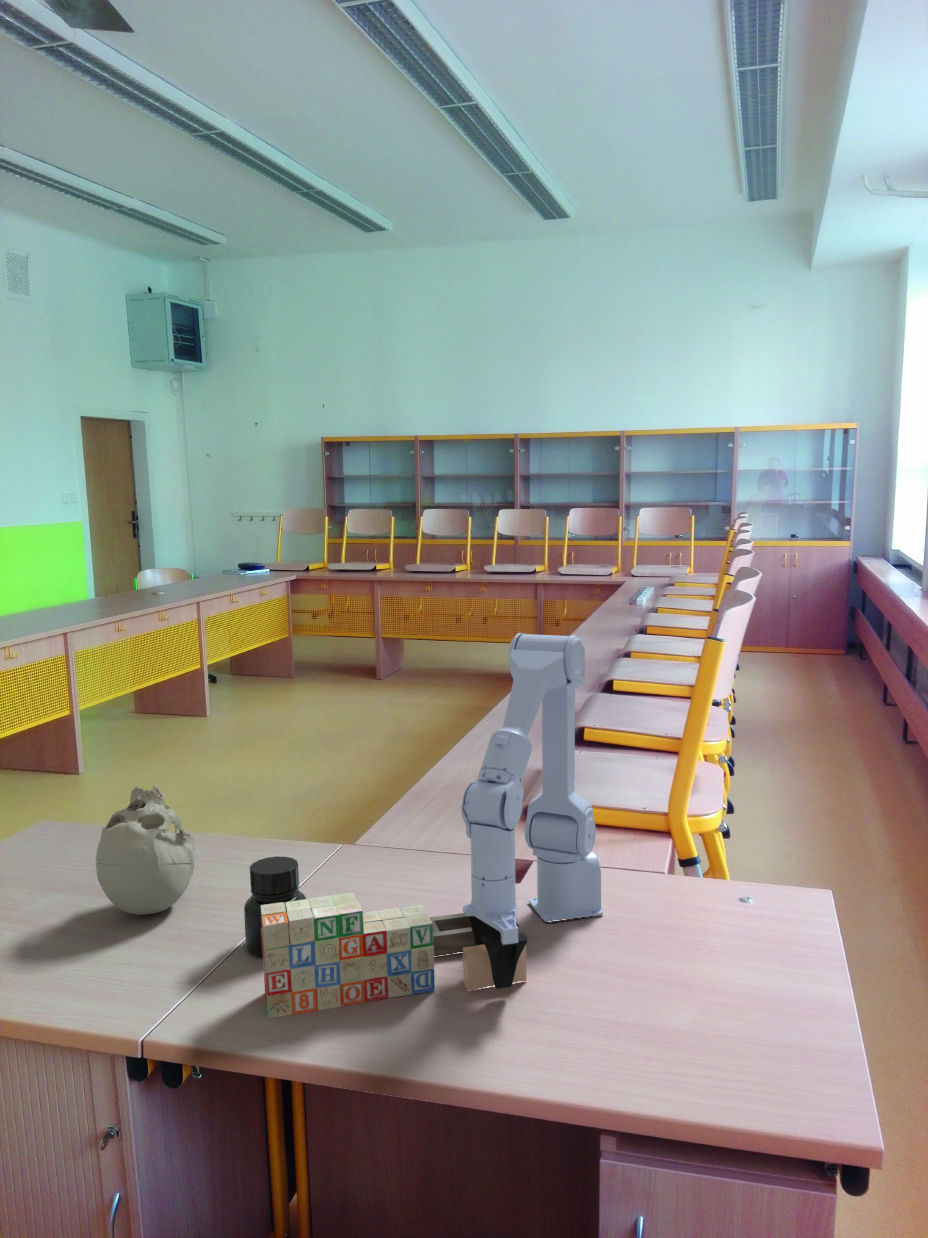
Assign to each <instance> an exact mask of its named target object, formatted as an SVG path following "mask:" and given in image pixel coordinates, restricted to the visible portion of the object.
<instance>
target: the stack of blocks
mask: <svg viewBox="0 0 928 1238" xmlns="http://www.w3.org/2000/svg"><path fill="white" fill-rule="evenodd" d="M363 911H364V910H363V909H362V906H361V903H360V902H359V901H358V899H357V897H356V894H355V892H347V893H341V894H340V893H339V894H333V895H324V896H319V897H311V898H306V899H304V900H297V901H290V902H285V903H284V902H281V903H274V904H266V905H261V921H262V928H261V940H262V953H263V957H262V963H263V980H264V995H265V997H264V998H265V1005H266V1009H267V1010H266V1012H267V1018H268V1019H270V1018H277V1017H284V1016H289V1015H298V1014H305V1013H312V1012H317V1011H321V1010H329V1009H330V1010H331V1009H336V1008H341V1007H345V1006H349V1005H350V1006H351V1005H355V1004H356V1005H357V1004H363V1003H367V1002H372V1001H373V1002H374V1001H379V1000H385V999H391V998H399V997H404V996H409V995H417V994H422V993H428V992H434V991H435V982H436V981H435V958H434V946H433V923H432V921H431V920H430V916H429V914H428V913H427V911H426V909H424V905H422V904H417V905H411V906H403V907H395V908H387V909H381V910H373V911H372V910H371V911H366V912H363Z"/></svg>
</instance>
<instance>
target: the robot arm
mask: <svg viewBox="0 0 928 1238" xmlns="http://www.w3.org/2000/svg"><path fill="white" fill-rule="evenodd" d="M508 663H509V671H510V674H511V677H512V679H513V682H512V685H511V690H510V694H509V699H508V702H507V703H508V704H507V706H506V712H505V715H504V716H505V717H504V721H503V724H502V728H500V729H497V730H495V731H494V732H492V734H491V736H490V739H489V742H488V745H487V748H486V751H485V755H484V757H483V760H482V762H481V766H480V769H479V773H478V775H477V779H475V780H474V782H471V783H469V784H468V785H467V786H466V788H465V790H464V793H463V795H462V803H461V806H460V807H461V808H460V809H461V810H460V811H461V817H462V819H463V822H464V824H465V834H466V836H467V838H468V839H470V874H471V876H470V877H471V878H470V879H471V880H470V881H471V883H470V884H471V885H470V886H471V900H470V903H469V904H465V905H463V906H462V913H464V914H465V915H466V916H467V918H468V920H469V923H470V925H471V929H472V932H473V936H474V941H475V946H476V945H485V947H486V949H487V952H488V955H489V959H490V964H491V970H492V977H493V981H494V985H495V987H494V988H495V989H497V990H498V989H499V990H500V989H506V988H511V987H512V986H513V985H512V983H513V979H514V975H515V970H516V966H517V963H518V960H519V957H520V955H521V953H522V951H523V949H524V947H525V946H526V947H527V944H528V936H527V934H525V932H523V931H522V932H519V926H518V927H517V925H516V922H517V917H518V903H517V902H516V901H517V899H516V896H517V895H516V834H515V833H516V832H515V828H516V826H517V825H518V823H519V821H520V819H521V816H522V813H523V805H524V804H523V803H524V800H523V798H524V797H523V796H524V792H525V791H524V789H525V787H524V785H523V781H524V777H525V775H526V771H527V767H528V764H529V761H530V759H531V758H530V757H531V754H532V751H533V744H532V742H531V740H530V738H529V737H528V736H529V734H530V731H531V729H532V726H533V724H534V722H535V719H536V717H537V714H538V712H539V710H540V707H541V711H542V712H541V717H542V719H541V724H542V725H541V733H542V736H541V737H542V738H541V739H542V741H541V742H542V746H541V747H542V749H541V750H542V753H541V755H542V756H541V757H542V760H541V761H542V763H541V764H542V772H541V773H542V792H541V793H539V794H538V795H536V796H535V797H534V798H533V799H532V800H531V801H530V802H529V803H528V805H527V811H526V812H527V814H526V820H525V824H524V839H525V840H524V841H525V842H526V844H527V847H528V848H530V849H531V850H532V855H533V856H535V857H536V881H537V882H536V886H537V889H536V891H537V892H536V893H537V895H536V896H537V897H533V898H529V899H528V903H529V905H530V906H531V907H532V908H533V910H534V911H535V912H536V914H537V915H538V916H539V915H540V916H539V917H540V918H541V919H543V920H544V921H545V922H544V921H543V920H542V921H543V922H544V923H546V922H548V921H553V920H562V919H570V920H574V919H573V918H578V919H582V917H585V918H590V917H591V916H592V917H598V915H599V916H603V915H604V911H603V910H602V869H601V865H600V860H599V857H598V856H597V855H596V853H595V851H593V849H594V846H595V843H596V842H595V841H596V836H597V835H596V833H597V826H596V822H595V818H594V809H593V805H592V804H591V802H589V801H588V800H587V799H586V798H584V797H583V796H581V795H580V794H579V793H578V792H577V791H576V789H575V787H576V785H575V779H576V777H575V776H576V774H575V773H576V770H575V769H576V768H575V763H576V761H575V760H576V758H575V757H576V756H575V754H576V752H575V751H576V750H575V749H576V748H575V743H576V742H575V740H576V737H575V734H576V733H575V730H576V728H575V727H576V725H575V723H576V721H575V717H576V716H575V715H576V713H575V712H576V711H575V707H576V706H575V700H576V699H575V697H576V689H577V688H580V687H583V686H584V685H585V679H586V649H585V646H584V645H583V642H582V641H581V639H580V637H579V636H578V635H574V634H573V635H554V634H553V635H550V634H532V633H531V634H530V633H529V634H528V633H523V632H519V633H517V634H515V636H514V637H513V638H512V639H511V642H510V645H509V649H508ZM602 914H603V915H602ZM579 917H580V918H579ZM592 917H591V918H592ZM571 918H572V919H571Z"/></svg>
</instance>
